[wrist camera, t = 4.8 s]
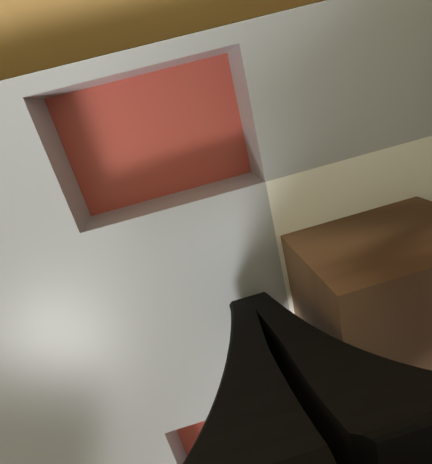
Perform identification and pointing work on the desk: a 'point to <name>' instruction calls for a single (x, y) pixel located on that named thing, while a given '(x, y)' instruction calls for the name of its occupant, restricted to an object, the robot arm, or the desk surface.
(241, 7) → the desk surface
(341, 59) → the trap deck
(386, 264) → the walnut block
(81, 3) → the desk surface
